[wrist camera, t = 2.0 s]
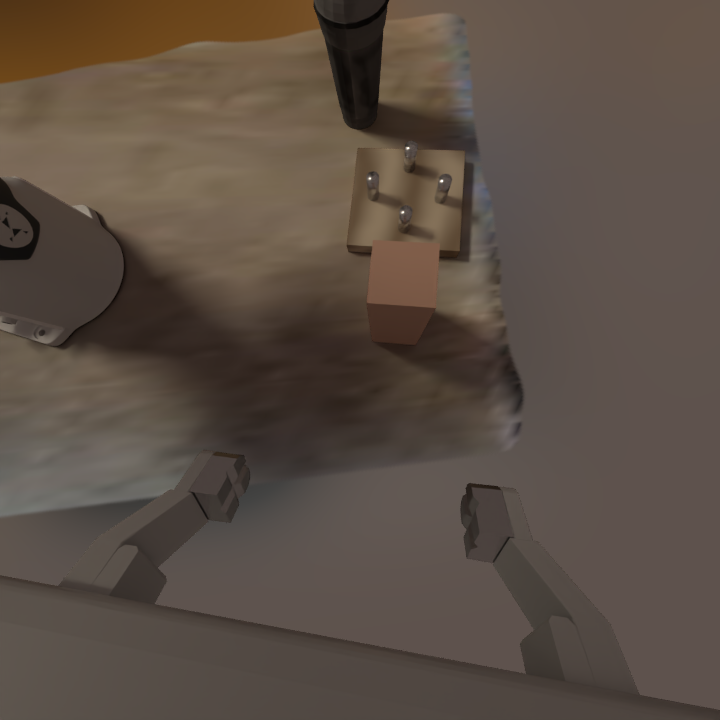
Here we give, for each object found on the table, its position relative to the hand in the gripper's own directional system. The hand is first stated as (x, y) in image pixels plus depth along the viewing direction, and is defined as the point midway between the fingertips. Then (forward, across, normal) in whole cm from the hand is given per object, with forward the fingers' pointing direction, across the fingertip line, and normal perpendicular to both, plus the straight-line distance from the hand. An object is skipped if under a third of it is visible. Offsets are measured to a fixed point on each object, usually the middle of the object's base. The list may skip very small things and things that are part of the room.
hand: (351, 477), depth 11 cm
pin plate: (+35, -1, -4) cm, 36 cm away
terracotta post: (+25, -1, +7) cm, 26 cm away
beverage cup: (+45, +6, -13) cm, 47 cm away
